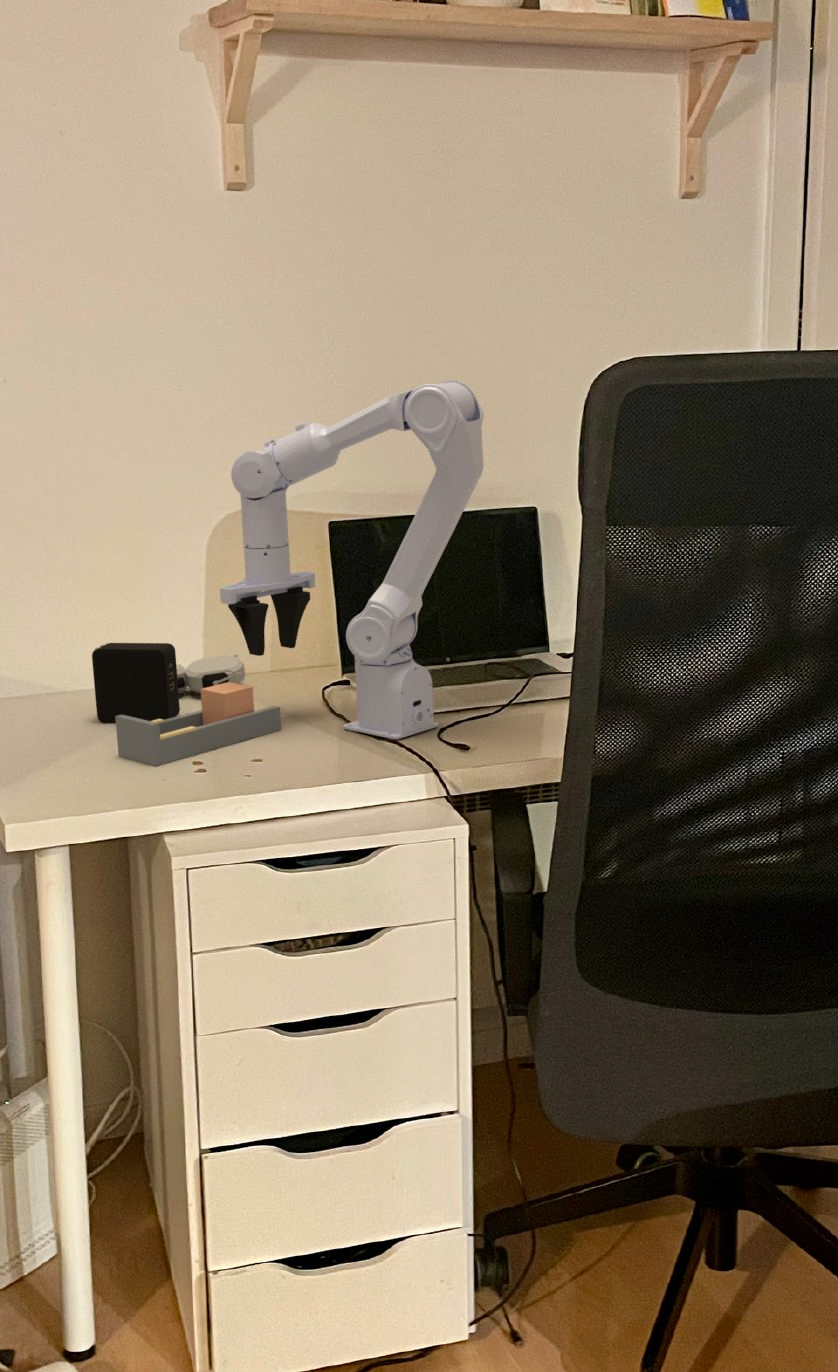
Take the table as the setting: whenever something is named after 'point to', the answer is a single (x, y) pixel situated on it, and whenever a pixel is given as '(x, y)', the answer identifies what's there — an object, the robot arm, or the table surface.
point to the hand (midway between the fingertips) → (272, 650)
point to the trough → (188, 734)
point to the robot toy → (210, 673)
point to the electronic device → (135, 681)
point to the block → (226, 701)
